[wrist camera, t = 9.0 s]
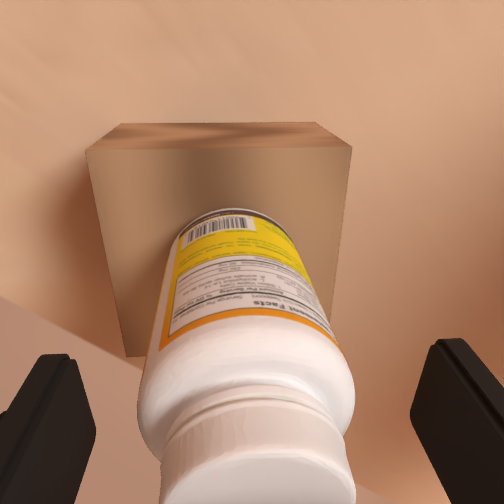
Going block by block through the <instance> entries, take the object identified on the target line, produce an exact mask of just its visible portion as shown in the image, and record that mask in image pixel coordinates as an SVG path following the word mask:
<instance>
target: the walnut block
mask: <svg viewBox="0 0 504 504" xmlns="http://www.w3.org/2000/svg"><path fill="white" fill-rule="evenodd" d="M351 153H352V146H350V145H349V144H347V143H346V142H344V141H343V140H341V139H340V138H338V137H337V136H335V135H334V134H332V133H331V132H329V131H328V130H326V129H325V128H323V127H322V126H320V125H319V124H317V123H316V122H273V123H149V124H120V125H119V126H117V127H116V128H114V129H113V130H112V131H110V132H109V133H108V134H106V135H105V136H104V137H102V138H101V139H100V140H98V141H97V142H96V143H94V144H93V145H92V146H90V147H89V148H88V149H86V150H85V154H86V159H87V164H88V169H89V174H90V179H91V184H92V189H93V193H94V198H95V203H96V208H97V213H98V218H99V223H100V228H101V233H102V238H103V243H104V248H105V253H106V258H107V263H108V268H109V273H110V278H111V283H112V288H113V293H114V298H115V303H116V308H117V313H118V318H119V323H120V328H121V333H122V338H123V343H124V348H125V353H126V357H139V356H147V351H148V347H149V343H150V338H151V334H152V329H153V324H154V320H155V315H156V311H157V306H158V301H159V297H160V292H161V287H162V282H163V278H164V273H165V269H166V264H167V260H168V256H169V253H170V250H171V247H172V245H173V243H174V241H175V239H176V238H177V236H178V235H179V234H180V232H181V231H182V230H183V229H184V228H185V227H186V226H187V225H188V224H190V223H191V222H192V221H194V220H195V219H197V218H198V217H200V216H202V215H204V214H207V213H209V212H212V211H216V210H220V209H226V208H242V209H249V210H253V211H256V212H259V213H261V214H264V215H266V216H268V217H270V218H271V219H273V220H274V221H275V222H277V223H278V224H279V225H280V226H281V227H282V228H283V229H284V230H285V231H286V232H287V234H288V235H289V236H290V238H291V240H292V241H293V243H294V245H295V247H296V249H297V252H298V254H299V256H300V259H301V261H302V263H303V265H304V268H305V270H306V272H307V274H308V277H309V279H310V281H311V283H312V286H313V288H314V290H315V293H316V295H317V297H318V299H319V302H320V304H321V306H322V308H323V310H324V312H325V315H326V317H327V320H328V322H330V314H331V307H332V299H333V291H334V284H335V276H336V268H337V261H338V253H339V245H340V238H341V230H342V222H343V215H344V207H345V199H346V192H347V184H348V176H349V169H350V161H351Z"/></svg>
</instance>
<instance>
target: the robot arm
mask: <svg viewBox="0 0 504 504" xmlns="http://www.w3.org/2000/svg"><path fill="white" fill-rule="evenodd" d="M410 419H411V423H412V425H413V427H414V429H415V432H416V434H417V436H418V438H419V440H420V442H421V444H422V446H423V448H424V450H425V452H426V454H427V456H428V458H429V460H430V462H431V464H432V466H433V468H434V470H435V472H436V474H437V476H438V478H439V480H440V482H441V484H442V486H443V488H444V490H445V492H446V494H447V496H448V498H449V500H450V502H451V504H504V388H503V386H502V385H501V384H500V383H499V382H498V380H497V379H496V378H495V377H494V375H493V374H492V373H491V372H490V371H489V369H488V368H487V367H486V366H485V364H484V363H483V362H482V361H481V360H480V358H479V357H478V356H477V355H476V354H475V352H474V351H473V350H472V349H471V347H470V346H469V345H468V344H467V343H466V342H465V341H464V340H463V339H461V338H453V339H438V340H437V341H436V343H435V345H431V346H430V349H429V352H428V355H427V358H426V361H425V365H424V368H423V371H422V374H421V377H420V381H419V384H418V387H417V390H416V393H415V397H414V400H413V403H412V406H411V409H410ZM95 436H96V427H95V423H94V419H93V416H92V413H91V409H90V406H89V403H88V399H87V396H86V392H85V389H84V385H83V382H82V379H81V375H80V372H79V369H78V365H77V362H76V360H75V359H70V358H69V356H68V355H67V354H45V355H41V356H40V357H39V358H38V360H37V362H36V363H35V365H34V367H33V368H32V370H31V371H30V373H29V375H28V376H27V378H26V380H25V381H24V383H23V385H22V386H21V388H20V390H19V391H18V393H17V395H16V397H15V398H14V400H13V401H12V403H11V405H10V406H9V408H8V409H7V411H4V412H3V413H1V414H0V504H74V502H75V499H76V496H77V493H78V490H79V487H80V484H81V481H82V478H83V475H84V472H85V469H86V466H87V463H88V460H89V457H90V454H91V451H92V448H93V445H94V442H95Z"/></svg>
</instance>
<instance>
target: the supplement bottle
mask: <svg viewBox="0 0 504 504" xmlns="http://www.w3.org/2000/svg"><path fill="white" fill-rule="evenodd" d="M354 407H355V389H354V382H353V378H352V375H351V372H350V370H349V367H348V365H347V362H346V359H345V357H344V355H343V353H342V351H341V349H340V346H339V344H338V342H337V340H336V337H335V335H334V333H333V331H332V329H331V326H330V324H329V322H328V320H327V317H326V315H325V312H324V310H323V308H322V306H321V304H320V302H319V299H318V297H317V295H316V293H315V290H314V288H313V286H312V283H311V281H310V279H309V277H308V274H307V272H306V270H305V268H304V265H303V263H302V261H301V259H300V256H299V254H298V252H297V249H296V247H295V245H294V243H293V241H292V240H291V238H290V236H289V235H288V234H287V232H286V231H285V230H284V229H283V228H282V227H281V226H280V225H279V224H278V223H277V222H275V221H274V220H273V219H271V218H270V217H268V216H266V215H264V214H261V213H259V212H256V211H253V210H249V209H242V208H226V209H220V210H216V211H212V212H209V213H207V214H204V215H202V216H200V217H198V218H197V219H195V220H194V221H192V222H191V223H190V224H188V225H187V226H186V227H185V228H184V229H183V230H182V231H181V232H180V234H179V235H178V236H177V238H176V239H175V241H174V243H173V245H172V247H171V250H170V253H169V256H168V260H167V264H166V269H165V273H164V278H163V282H162V287H161V292H160V297H159V301H158V306H157V311H156V315H155V320H154V324H153V329H152V334H151V338H150V343H149V347H148V351H147V356H146V360H145V365H144V369H143V374H142V378H141V383H140V388H139V394H138V401H137V419H138V424H139V429H140V432H141V434H142V437H143V439H144V441H145V443H146V445H147V447H148V448H149V450H150V451H151V452H152V453H153V454H154V456H155V457H156V458H157V459H158V460H159V461H160V462H161V466H160V467H161V468H160V469H161V477H162V478H161V488H160V497H159V504H355V503H356V488H355V484H354V480H353V477H352V473H351V470H350V467H349V463H348V460H347V457H346V451H345V443H344V440H343V436H344V434H345V432H346V431H347V429H348V426H349V424H350V422H351V419H352V416H353V412H354Z"/></svg>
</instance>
